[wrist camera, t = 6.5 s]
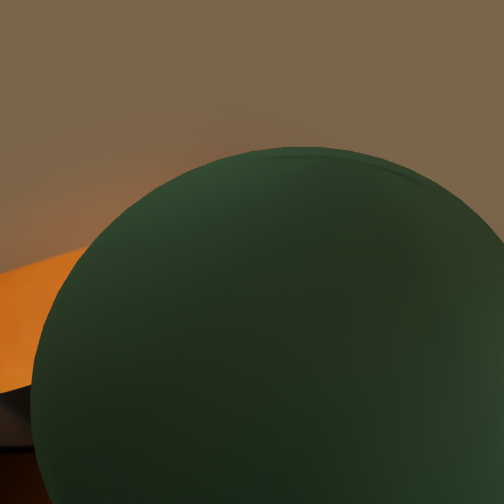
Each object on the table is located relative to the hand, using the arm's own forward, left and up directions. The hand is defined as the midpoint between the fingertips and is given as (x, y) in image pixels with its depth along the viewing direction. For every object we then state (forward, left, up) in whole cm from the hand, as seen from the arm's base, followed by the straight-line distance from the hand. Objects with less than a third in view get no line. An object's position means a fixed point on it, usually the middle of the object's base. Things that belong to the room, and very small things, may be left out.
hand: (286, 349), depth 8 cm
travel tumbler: (0, +1, -7) cm, 7 cm away
